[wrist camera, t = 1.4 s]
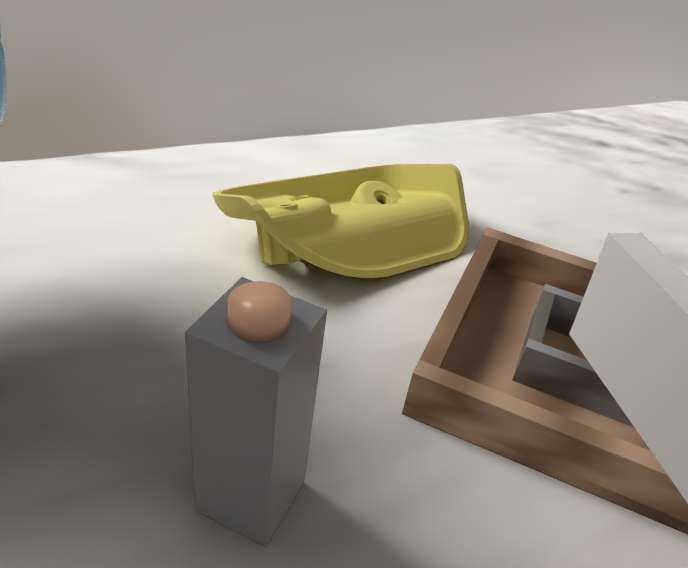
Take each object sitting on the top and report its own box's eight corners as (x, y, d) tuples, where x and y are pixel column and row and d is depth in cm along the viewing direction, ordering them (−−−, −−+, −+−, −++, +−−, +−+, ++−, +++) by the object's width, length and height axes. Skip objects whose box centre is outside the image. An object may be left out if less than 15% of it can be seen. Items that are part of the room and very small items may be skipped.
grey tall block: (195, 510, 30) (183, 312, 22) (238, 451, 33) (242, 257, 25) (265, 546, 29) (280, 352, 21) (304, 482, 32) (329, 290, 24)
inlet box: (402, 413, 37) (413, 369, 34) (475, 263, 50) (488, 224, 48) (722, 548, 32) (760, 507, 30) (708, 342, 45) (734, 303, 43)
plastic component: (389, 163, 57) (469, 163, 50) (394, 241, 59) (473, 252, 51) (191, 193, 46) (254, 198, 38) (205, 286, 48) (269, 310, 40)
